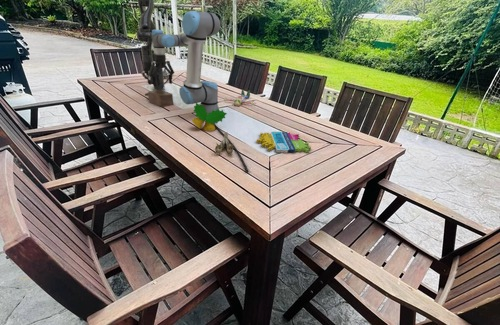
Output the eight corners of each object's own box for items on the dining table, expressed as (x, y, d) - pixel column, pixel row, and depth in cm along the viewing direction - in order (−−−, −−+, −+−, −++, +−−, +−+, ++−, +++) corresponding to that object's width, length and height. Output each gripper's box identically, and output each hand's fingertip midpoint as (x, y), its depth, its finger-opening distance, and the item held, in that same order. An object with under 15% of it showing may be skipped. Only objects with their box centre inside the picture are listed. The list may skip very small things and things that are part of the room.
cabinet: (149, 102, 204) (148, 91, 200) (161, 99, 211) (160, 89, 207) (161, 107, 195) (160, 96, 191) (173, 104, 203) (172, 93, 199)
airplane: (141, 75, 282) (140, 66, 277) (171, 74, 295) (170, 65, 290) (147, 84, 254) (145, 74, 249) (179, 82, 267) (178, 72, 262)
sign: (313, 150, 142) (258, 149, 139) (312, 153, 143) (258, 152, 140) (301, 132, 164) (254, 130, 161) (301, 134, 165) (254, 133, 162)
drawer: (144, 98, 208) (143, 90, 205) (155, 96, 214) (154, 88, 211) (159, 104, 197) (158, 96, 194) (170, 102, 203) (169, 94, 200)
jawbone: (234, 135, 144) (233, 125, 135) (233, 160, 138) (232, 151, 129) (217, 135, 144) (216, 125, 135) (216, 160, 138) (214, 150, 129)
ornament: (218, 133, 171) (224, 110, 169) (221, 134, 163) (227, 111, 161) (186, 125, 162) (192, 101, 160) (189, 126, 155) (195, 101, 153)
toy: (261, 91, 228) (254, 99, 202) (261, 99, 231) (253, 108, 205) (231, 87, 233) (220, 95, 207) (230, 95, 236) (219, 104, 210)
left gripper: (153, 59, 202) (155, 82, 211) (136, 60, 193) (140, 84, 201) (158, 61, 198) (161, 84, 207) (142, 62, 189) (145, 86, 197)
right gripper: (171, 52, 195) (174, 81, 205) (140, 54, 178) (144, 85, 189) (177, 54, 191) (179, 83, 201) (146, 55, 174) (150, 87, 184)
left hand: (150, 84), depth 204 cm, fingers closed
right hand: (162, 84), depth 195 cm, fingers open, 13 cm apart
